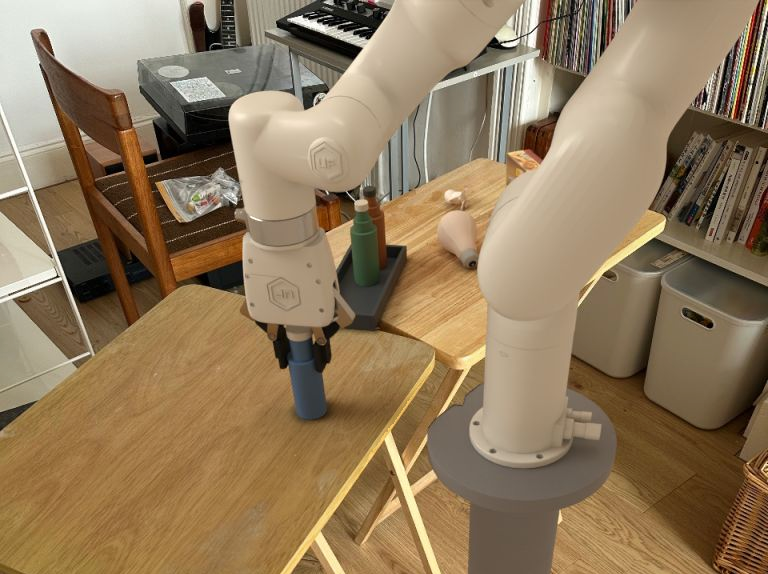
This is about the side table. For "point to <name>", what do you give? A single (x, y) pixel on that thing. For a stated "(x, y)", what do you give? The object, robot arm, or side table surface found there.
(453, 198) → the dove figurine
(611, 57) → the robot arm
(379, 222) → the amber bottle
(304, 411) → the blue bottle
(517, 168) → the candy box
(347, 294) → the tray
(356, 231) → the green bottle
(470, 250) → the light bulb
